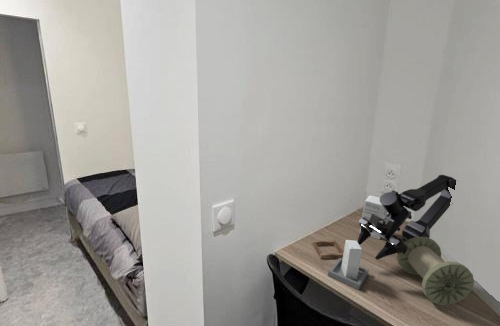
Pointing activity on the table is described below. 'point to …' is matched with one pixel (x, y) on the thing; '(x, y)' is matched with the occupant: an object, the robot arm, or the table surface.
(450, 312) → the table surface
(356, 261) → the skincare box
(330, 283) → the table surface
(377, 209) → the supplement box
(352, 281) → the cradle tray
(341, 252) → the open wooden picture frame
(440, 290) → the spool
